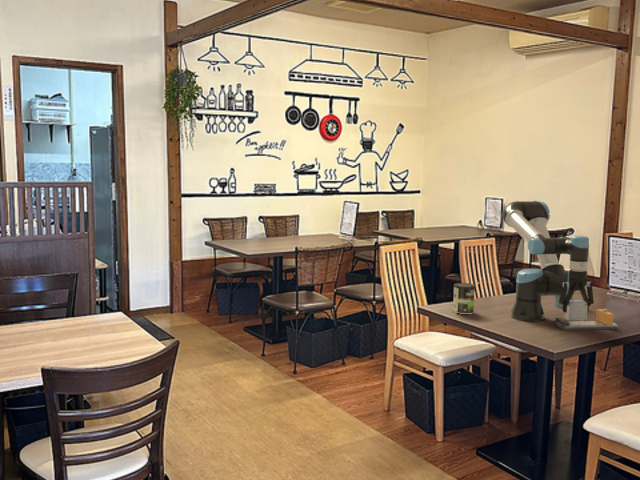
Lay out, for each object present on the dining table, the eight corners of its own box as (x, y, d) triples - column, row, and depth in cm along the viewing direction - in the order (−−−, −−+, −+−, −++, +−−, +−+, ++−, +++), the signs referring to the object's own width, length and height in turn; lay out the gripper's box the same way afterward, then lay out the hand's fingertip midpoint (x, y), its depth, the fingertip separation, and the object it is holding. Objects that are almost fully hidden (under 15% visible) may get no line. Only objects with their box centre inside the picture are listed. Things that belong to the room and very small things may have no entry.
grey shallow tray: (565, 330, 277) (565, 323, 277) (555, 324, 286) (555, 318, 286) (619, 329, 280) (620, 321, 279) (608, 323, 289) (609, 316, 288)
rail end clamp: (606, 324, 279) (607, 311, 278) (595, 319, 288) (596, 307, 287) (612, 324, 279) (613, 311, 278) (601, 319, 288) (602, 306, 287)
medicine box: (581, 318, 284) (582, 299, 283) (585, 320, 280) (587, 302, 279) (564, 318, 284) (565, 300, 283) (568, 320, 279) (570, 302, 278)
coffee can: (478, 312, 308) (479, 285, 306) (465, 316, 301) (466, 287, 300) (461, 308, 316) (462, 281, 314) (448, 311, 309) (449, 284, 307)
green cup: (570, 304, 326) (571, 282, 324) (576, 309, 316) (577, 286, 314) (550, 304, 327) (551, 282, 325) (555, 308, 317) (557, 286, 315)
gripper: (560, 271, 274) (557, 321, 277) (604, 271, 276) (601, 320, 279) (552, 268, 281) (549, 317, 284) (595, 268, 283) (592, 316, 286)
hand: (575, 318), depth 282 cm, fingers closed on medicine box, 8 cm apart
